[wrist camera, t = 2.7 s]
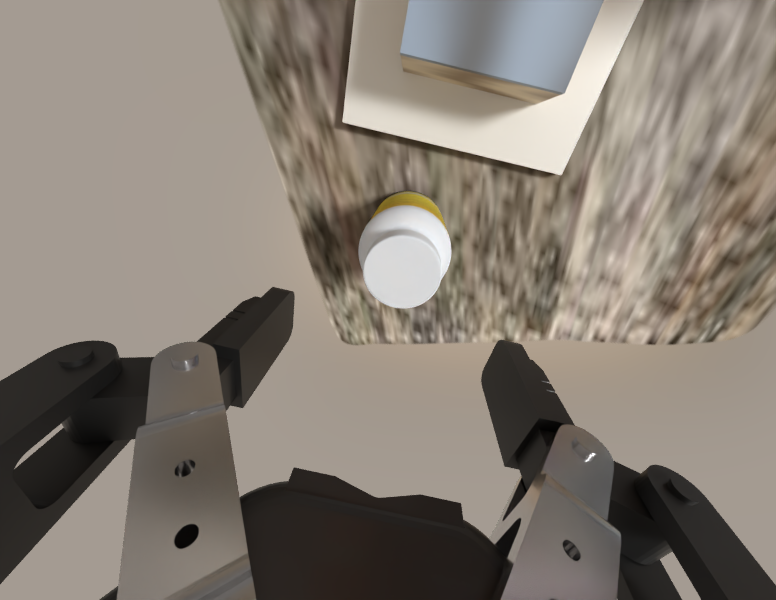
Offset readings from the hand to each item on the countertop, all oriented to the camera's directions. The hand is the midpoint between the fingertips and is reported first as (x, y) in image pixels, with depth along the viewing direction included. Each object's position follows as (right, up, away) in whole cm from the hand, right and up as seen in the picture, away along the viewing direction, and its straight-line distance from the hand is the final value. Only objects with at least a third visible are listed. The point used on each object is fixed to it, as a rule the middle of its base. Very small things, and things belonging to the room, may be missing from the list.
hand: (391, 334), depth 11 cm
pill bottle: (+2, +8, +16) cm, 18 cm away
